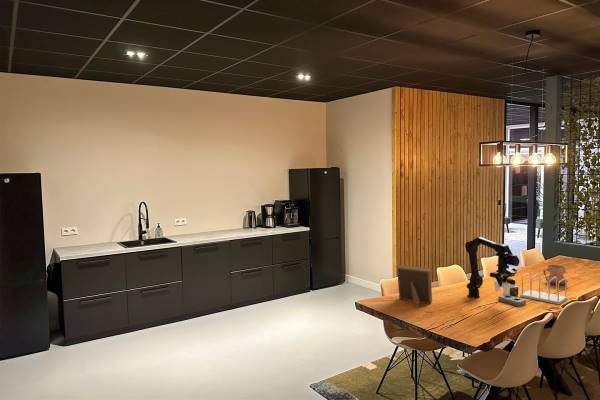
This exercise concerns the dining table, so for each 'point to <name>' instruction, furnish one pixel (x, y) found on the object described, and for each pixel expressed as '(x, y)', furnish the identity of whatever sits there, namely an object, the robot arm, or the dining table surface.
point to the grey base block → (512, 300)
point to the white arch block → (502, 286)
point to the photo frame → (414, 284)
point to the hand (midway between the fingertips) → (502, 286)
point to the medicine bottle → (512, 288)
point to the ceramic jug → (556, 274)
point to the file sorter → (541, 295)
